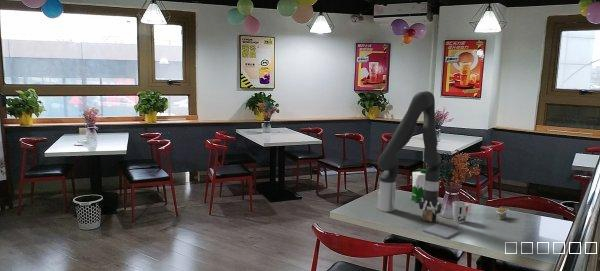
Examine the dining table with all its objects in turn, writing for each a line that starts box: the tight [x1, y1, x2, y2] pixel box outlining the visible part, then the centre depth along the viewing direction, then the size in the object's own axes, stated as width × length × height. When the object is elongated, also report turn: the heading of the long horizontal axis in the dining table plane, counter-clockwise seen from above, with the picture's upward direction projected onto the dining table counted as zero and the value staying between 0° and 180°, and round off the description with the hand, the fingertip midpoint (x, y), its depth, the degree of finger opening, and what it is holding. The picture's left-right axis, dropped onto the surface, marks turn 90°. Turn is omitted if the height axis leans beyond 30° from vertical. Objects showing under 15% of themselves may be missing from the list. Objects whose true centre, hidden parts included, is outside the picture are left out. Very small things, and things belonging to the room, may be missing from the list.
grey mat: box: [422, 223, 461, 240], centre depth 219 cm, size 13×13×1 cm
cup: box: [452, 201, 470, 224], centre depth 235 cm, size 8×8×10 cm
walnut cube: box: [422, 208, 437, 223], centre depth 235 cm, size 5×5×5 cm
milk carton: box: [411, 168, 427, 204], centre depth 270 cm, size 9×9×20 cm
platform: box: [496, 206, 510, 221], centre depth 241 cm, size 12×18×7 cm, turn 135°
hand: (429, 218), depth 236 cm, fingers closed on walnut cube, 5 cm apart
